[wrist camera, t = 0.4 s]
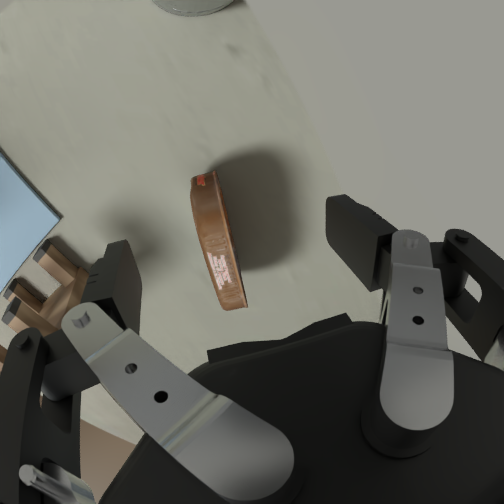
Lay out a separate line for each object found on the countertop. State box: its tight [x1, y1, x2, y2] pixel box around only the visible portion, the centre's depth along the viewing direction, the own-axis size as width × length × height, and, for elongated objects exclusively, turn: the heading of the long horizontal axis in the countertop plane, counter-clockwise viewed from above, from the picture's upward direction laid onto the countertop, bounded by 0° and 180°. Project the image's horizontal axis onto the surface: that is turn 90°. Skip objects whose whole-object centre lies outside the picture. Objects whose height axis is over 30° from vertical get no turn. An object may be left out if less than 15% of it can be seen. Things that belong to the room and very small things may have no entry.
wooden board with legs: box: [0, 239, 89, 371], centre depth 27 cm, size 7×12×12 cm, turn 122°
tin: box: [190, 170, 248, 311], centre depth 30 cm, size 15×3×8 cm, turn 9°
